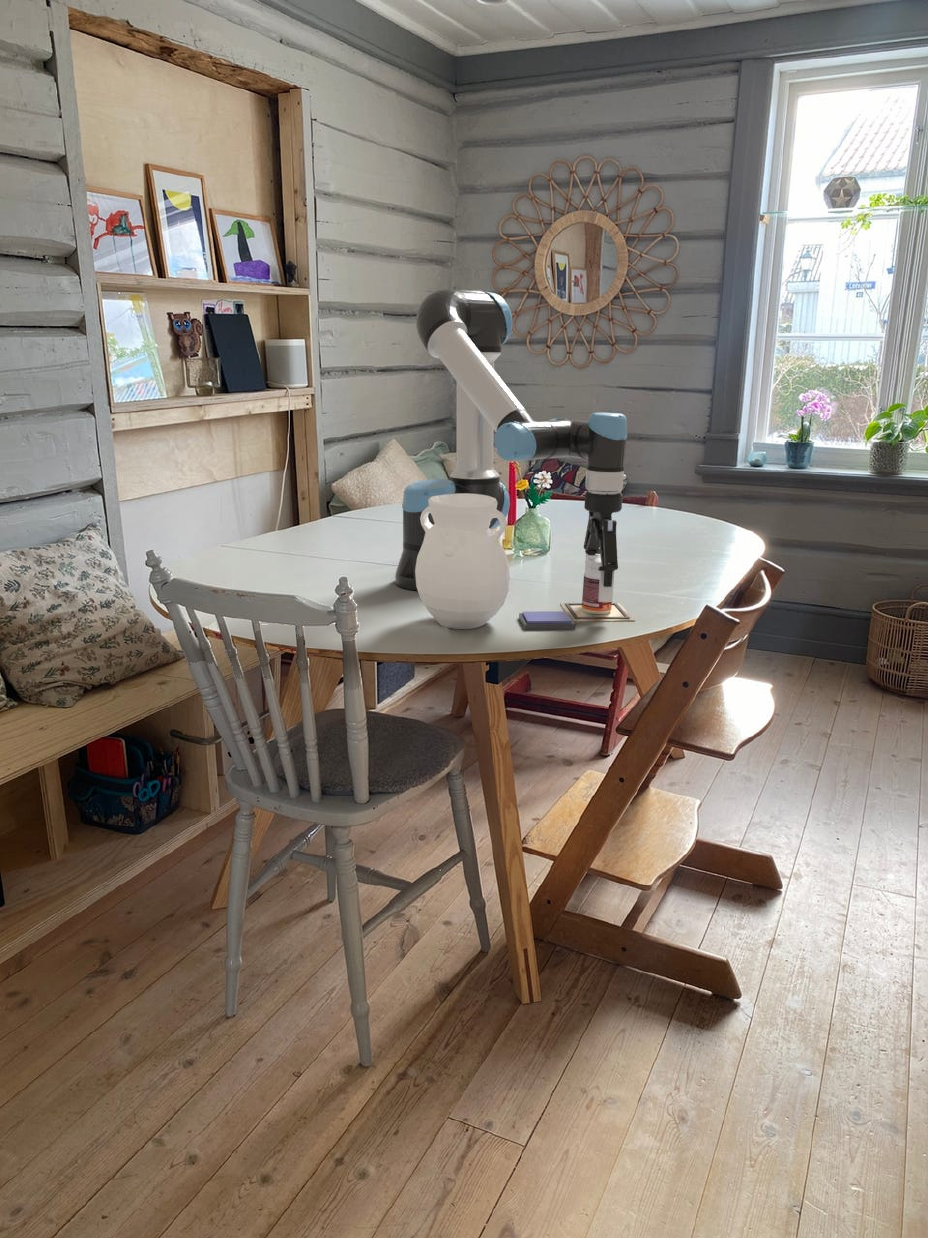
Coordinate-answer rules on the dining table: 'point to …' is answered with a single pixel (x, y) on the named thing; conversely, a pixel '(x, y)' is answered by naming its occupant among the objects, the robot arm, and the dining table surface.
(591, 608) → the pill bottle
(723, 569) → the dining table surface
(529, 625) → the ink pad
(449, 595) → the white ceramic vase
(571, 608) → the cream flat square
